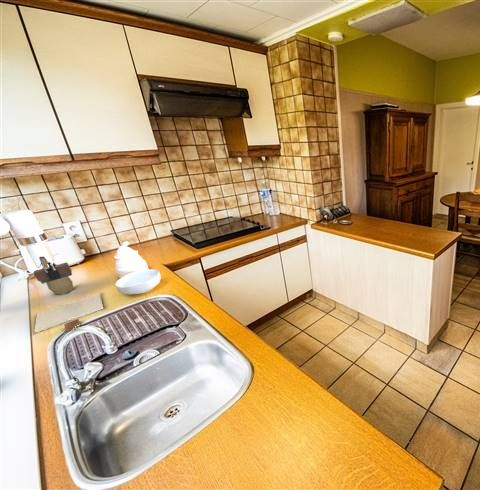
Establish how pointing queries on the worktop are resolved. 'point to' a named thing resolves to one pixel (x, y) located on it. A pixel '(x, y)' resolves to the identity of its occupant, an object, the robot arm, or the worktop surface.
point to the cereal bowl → (139, 281)
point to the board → (68, 312)
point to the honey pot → (128, 261)
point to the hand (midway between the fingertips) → (56, 277)
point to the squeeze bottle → (60, 285)
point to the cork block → (72, 325)
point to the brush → (61, 268)
